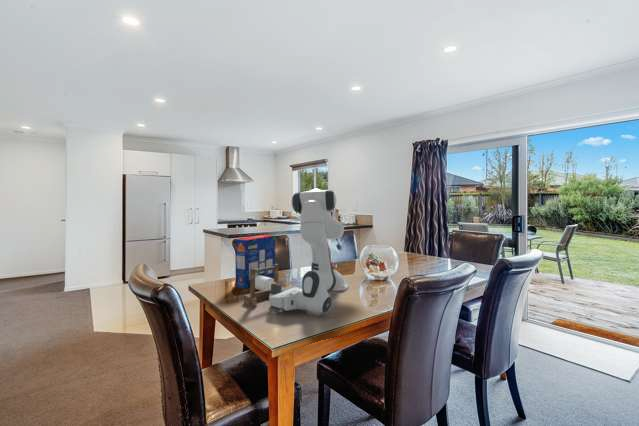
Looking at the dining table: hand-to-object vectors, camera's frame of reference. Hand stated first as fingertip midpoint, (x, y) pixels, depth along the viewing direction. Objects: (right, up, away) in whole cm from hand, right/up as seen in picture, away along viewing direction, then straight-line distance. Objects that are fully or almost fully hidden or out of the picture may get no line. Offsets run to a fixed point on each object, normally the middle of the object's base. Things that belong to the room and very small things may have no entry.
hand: (274, 293), depth 152 cm
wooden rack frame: (-7, -6, +6) cm, 11 cm away
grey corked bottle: (+1, -6, 0) cm, 6 cm away
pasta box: (-17, -4, +42) cm, 45 cm away
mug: (-8, -5, +26) cm, 28 cm away
